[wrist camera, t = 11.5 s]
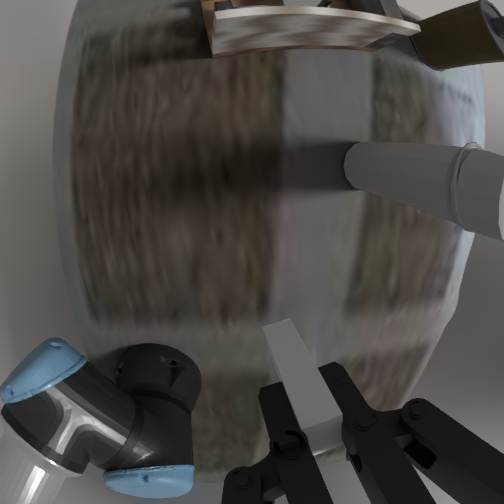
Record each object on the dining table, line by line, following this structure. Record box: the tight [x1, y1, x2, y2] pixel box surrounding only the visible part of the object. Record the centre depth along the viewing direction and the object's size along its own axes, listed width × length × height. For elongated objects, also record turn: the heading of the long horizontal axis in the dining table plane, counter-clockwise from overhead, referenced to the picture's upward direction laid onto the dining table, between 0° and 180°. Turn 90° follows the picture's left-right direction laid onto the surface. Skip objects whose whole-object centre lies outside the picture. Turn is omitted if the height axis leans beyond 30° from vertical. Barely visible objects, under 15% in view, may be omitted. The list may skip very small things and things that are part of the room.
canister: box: [410, 0, 504, 71], centre depth 21 cm, size 11×10×20 cm
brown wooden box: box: [200, 0, 421, 58], centre depth 22 cm, size 24×10×12 cm, turn 102°
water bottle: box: [343, 142, 504, 242], centre depth 24 cm, size 9×8×25 cm
